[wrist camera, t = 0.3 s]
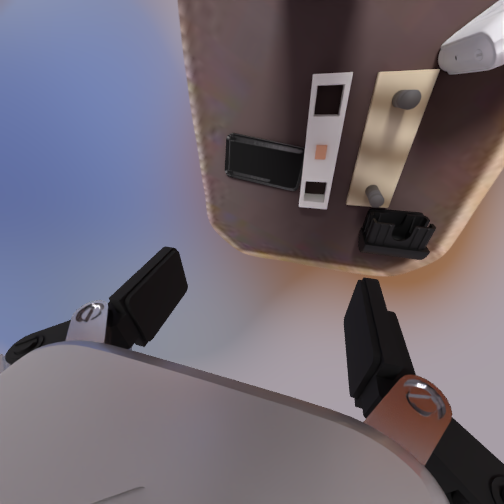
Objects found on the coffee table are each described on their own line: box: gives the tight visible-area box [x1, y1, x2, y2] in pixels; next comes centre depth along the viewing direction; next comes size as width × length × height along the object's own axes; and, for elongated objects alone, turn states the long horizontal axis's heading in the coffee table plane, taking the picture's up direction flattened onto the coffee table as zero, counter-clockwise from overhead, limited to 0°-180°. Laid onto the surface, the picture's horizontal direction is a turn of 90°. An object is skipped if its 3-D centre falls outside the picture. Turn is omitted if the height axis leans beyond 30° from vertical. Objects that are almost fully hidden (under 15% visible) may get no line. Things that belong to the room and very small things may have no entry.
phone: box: [225, 133, 305, 191], centre depth 41 cm, size 8×1×15 cm
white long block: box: [299, 72, 353, 209], centre depth 35 cm, size 19×5×4 cm, turn 1°
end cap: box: [358, 208, 436, 260], centre depth 39 cm, size 10×7×7 cm
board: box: [346, 69, 440, 208], centre depth 32 cm, size 19×7×6 cm, turn 1°
